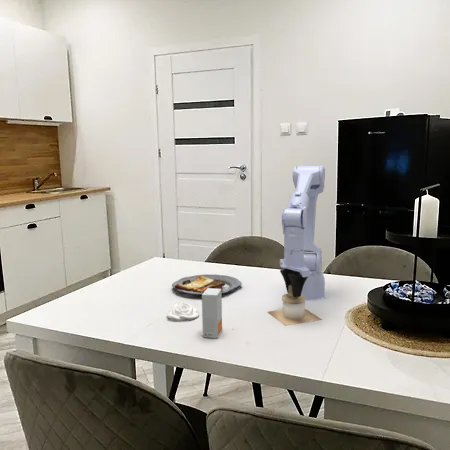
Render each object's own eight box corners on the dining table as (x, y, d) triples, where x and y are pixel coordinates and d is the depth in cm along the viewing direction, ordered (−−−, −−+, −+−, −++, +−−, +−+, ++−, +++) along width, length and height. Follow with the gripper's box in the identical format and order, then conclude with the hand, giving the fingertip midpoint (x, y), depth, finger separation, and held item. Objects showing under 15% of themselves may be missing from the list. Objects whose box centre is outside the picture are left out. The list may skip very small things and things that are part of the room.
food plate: (214, 303, 148) (214, 292, 147) (159, 293, 160) (159, 283, 159) (251, 285, 169) (251, 276, 168) (199, 277, 181) (199, 269, 180)
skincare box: (218, 338, 120) (217, 295, 118) (202, 337, 121) (201, 294, 119) (222, 329, 126) (221, 288, 124) (207, 328, 127) (206, 287, 125)
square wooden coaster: (301, 308, 142) (301, 306, 142) (322, 321, 130) (322, 319, 130) (266, 313, 138) (266, 311, 138) (285, 327, 126) (285, 325, 126)
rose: (180, 295, 143) (205, 300, 138) (180, 309, 144) (205, 314, 139) (159, 305, 135) (185, 310, 130) (160, 319, 136) (185, 325, 130)
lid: (298, 294, 137) (298, 281, 137) (309, 301, 131) (309, 287, 130) (278, 297, 135) (278, 283, 135) (287, 304, 129) (288, 290, 128)
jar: (298, 310, 138) (298, 296, 137) (308, 317, 132) (309, 302, 131) (279, 313, 136) (279, 299, 135) (289, 320, 130) (289, 305, 129)
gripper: (270, 246, 136) (270, 289, 138) (294, 256, 123) (293, 304, 125) (291, 243, 138) (291, 286, 141) (316, 253, 125) (316, 300, 127)
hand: (293, 294), depth 133 cm, fingers closed on lid, 3 cm apart
